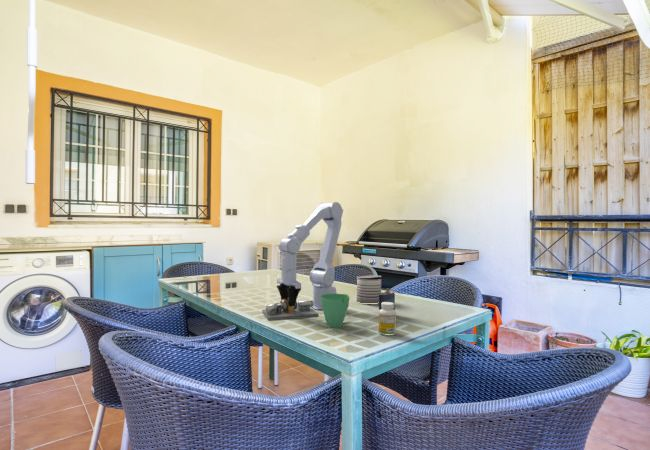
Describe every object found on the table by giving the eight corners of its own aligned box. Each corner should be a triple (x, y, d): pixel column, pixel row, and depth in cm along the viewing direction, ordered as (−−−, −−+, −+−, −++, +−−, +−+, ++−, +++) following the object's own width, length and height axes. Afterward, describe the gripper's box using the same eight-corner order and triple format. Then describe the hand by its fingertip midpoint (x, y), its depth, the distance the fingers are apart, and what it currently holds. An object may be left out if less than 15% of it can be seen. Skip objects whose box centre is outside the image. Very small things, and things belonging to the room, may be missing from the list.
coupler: (291, 308, 142) (291, 297, 142) (297, 311, 138) (297, 299, 138) (278, 310, 138) (279, 299, 138) (284, 313, 135) (285, 301, 135)
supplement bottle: (383, 330, 118) (383, 300, 118) (398, 333, 115) (398, 302, 115) (375, 333, 114) (376, 303, 114) (391, 337, 111) (391, 305, 111)
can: (366, 305, 154) (366, 277, 154) (350, 300, 163) (351, 274, 163) (386, 303, 159) (387, 276, 159) (370, 298, 169) (371, 273, 169)
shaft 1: (275, 310, 138) (275, 302, 138) (282, 312, 136) (282, 303, 136) (264, 313, 133) (264, 304, 133) (271, 315, 131) (271, 306, 131)
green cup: (341, 331, 116) (342, 300, 116) (315, 326, 121) (315, 297, 121) (358, 320, 129) (358, 293, 129) (333, 317, 134) (334, 290, 134)
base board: (308, 309, 146) (308, 306, 146) (318, 316, 135) (318, 313, 135) (262, 312, 139) (262, 309, 139) (268, 320, 128) (268, 317, 128)
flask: (390, 313, 141) (390, 286, 141) (396, 315, 139) (397, 287, 139) (377, 318, 134) (377, 289, 134) (383, 319, 132) (384, 290, 132)
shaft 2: (310, 308, 143) (311, 299, 143) (313, 310, 140) (313, 301, 140) (296, 309, 141) (296, 300, 141) (299, 311, 138) (299, 302, 138)
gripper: (270, 268, 142) (270, 302, 142) (290, 272, 130) (289, 309, 130) (286, 266, 146) (285, 300, 146) (306, 270, 134) (305, 307, 134)
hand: (288, 304), depth 138 cm, fingers open, 5 cm apart
